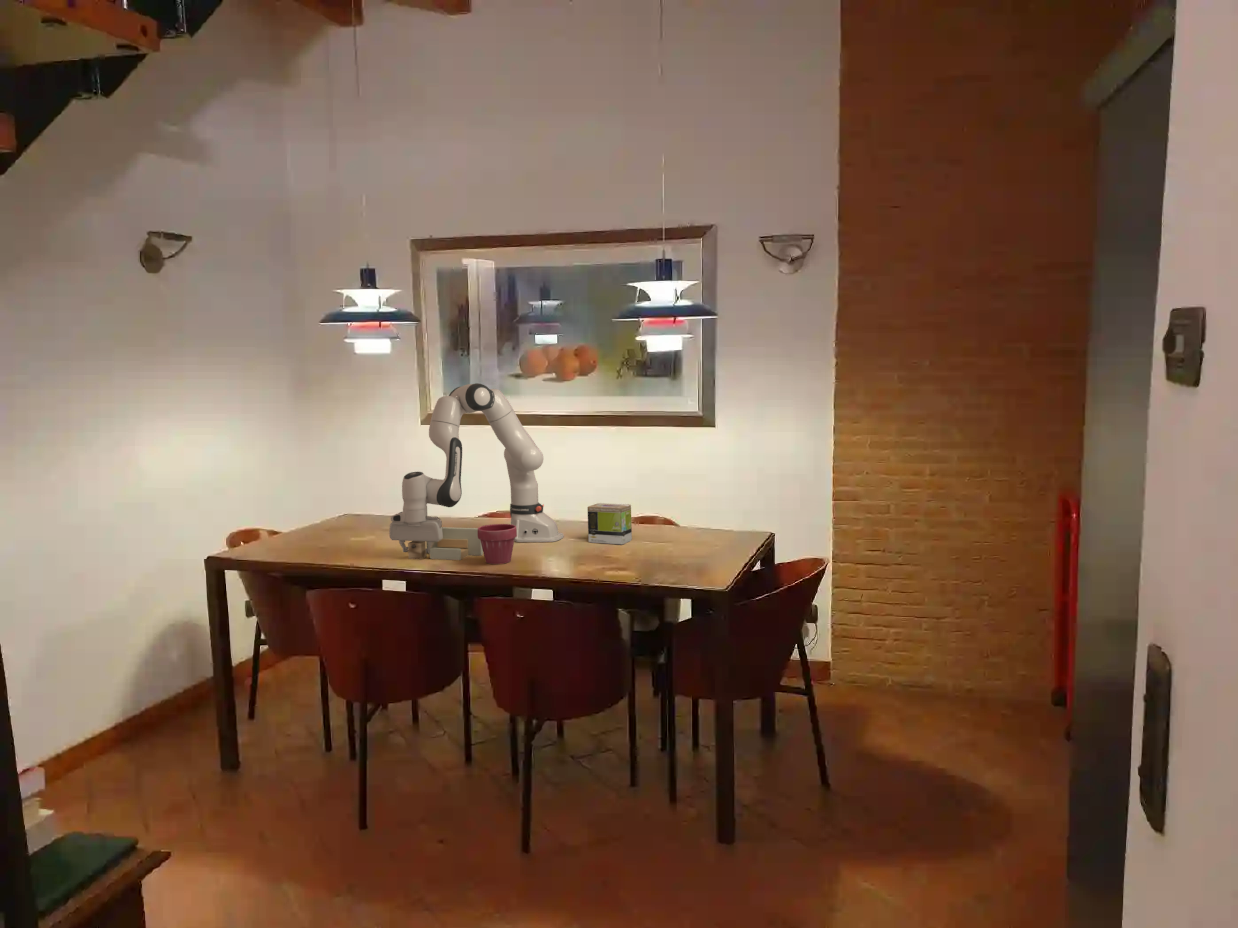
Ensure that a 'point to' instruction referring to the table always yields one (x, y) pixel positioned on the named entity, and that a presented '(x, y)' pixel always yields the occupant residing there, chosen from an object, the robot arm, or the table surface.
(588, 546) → the table surface
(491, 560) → the plant pot
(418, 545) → the cabinet block
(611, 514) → the tea box
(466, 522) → the table surface
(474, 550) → the grey boxy piece
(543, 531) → the robot arm
